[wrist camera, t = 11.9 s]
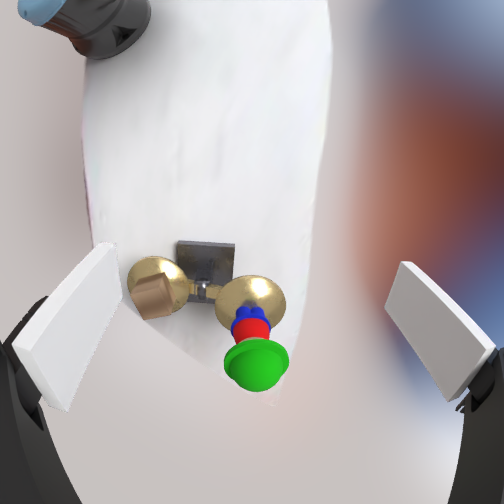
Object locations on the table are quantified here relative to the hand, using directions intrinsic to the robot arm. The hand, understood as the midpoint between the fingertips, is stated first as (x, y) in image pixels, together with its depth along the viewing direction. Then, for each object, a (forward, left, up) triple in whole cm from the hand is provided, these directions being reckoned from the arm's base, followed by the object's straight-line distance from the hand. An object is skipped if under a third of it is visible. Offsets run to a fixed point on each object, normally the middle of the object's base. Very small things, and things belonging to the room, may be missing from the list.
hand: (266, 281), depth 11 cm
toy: (+19, +3, -24) cm, 31 cm away
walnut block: (+19, -13, -28) cm, 36 cm away
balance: (+19, -5, -35) cm, 40 cm away
